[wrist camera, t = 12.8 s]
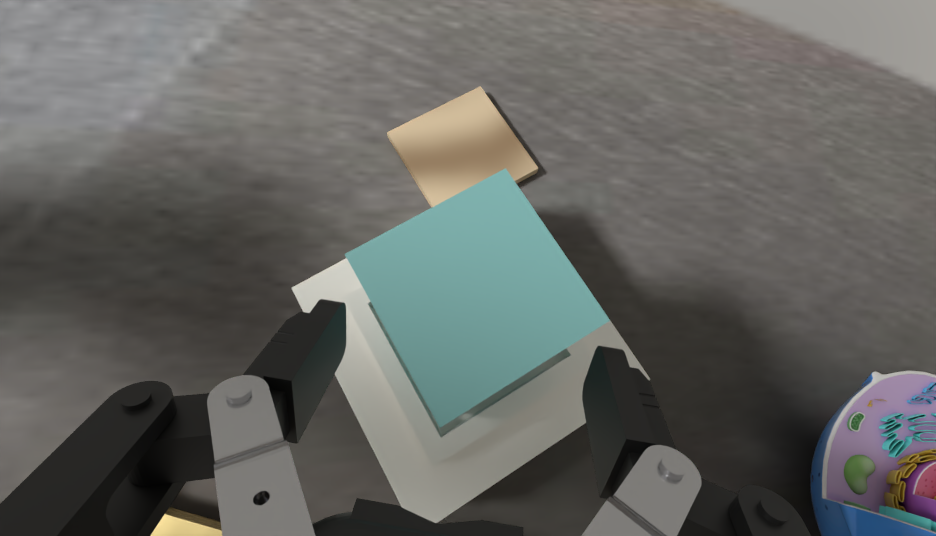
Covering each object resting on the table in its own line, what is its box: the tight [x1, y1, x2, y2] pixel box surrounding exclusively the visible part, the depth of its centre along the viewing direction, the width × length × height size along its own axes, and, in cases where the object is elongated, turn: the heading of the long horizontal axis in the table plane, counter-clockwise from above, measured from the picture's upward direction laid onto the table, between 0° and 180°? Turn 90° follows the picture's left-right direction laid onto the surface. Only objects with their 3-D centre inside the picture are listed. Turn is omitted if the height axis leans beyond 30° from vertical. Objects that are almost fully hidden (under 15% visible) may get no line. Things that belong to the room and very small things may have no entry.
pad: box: [387, 86, 538, 208], centre depth 28 cm, size 7×7×1 cm
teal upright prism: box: [345, 168, 610, 428], centre depth 16 cm, size 5×5×9 cm
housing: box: [292, 258, 650, 523], centre depth 22 cm, size 12×12×6 cm
